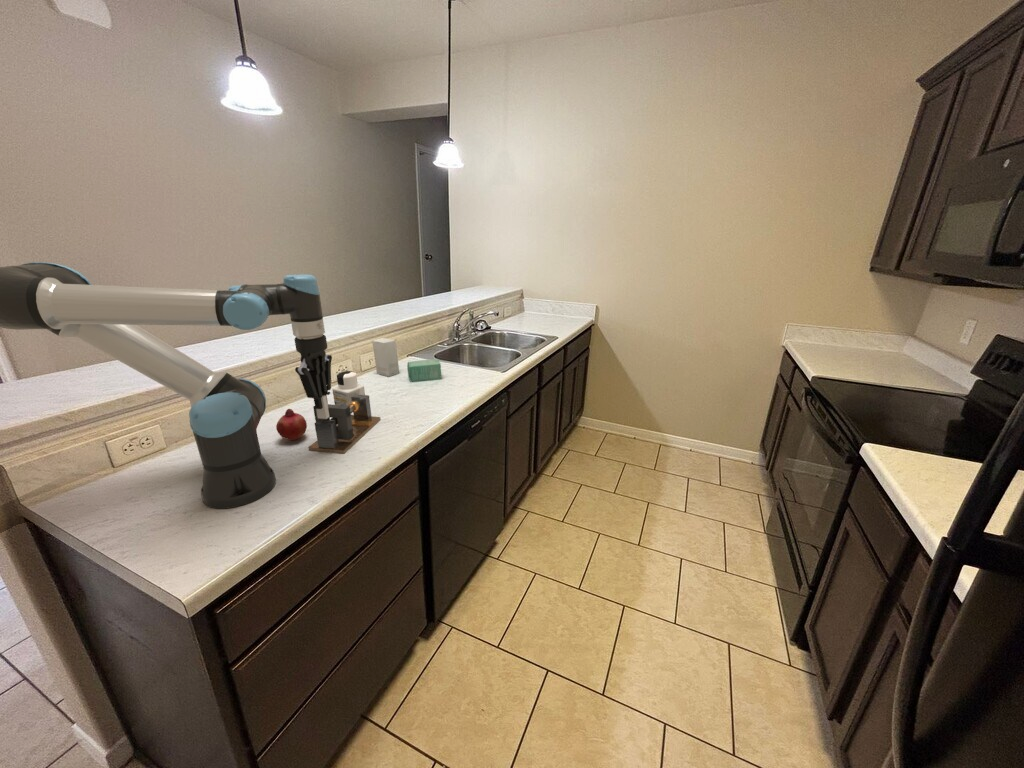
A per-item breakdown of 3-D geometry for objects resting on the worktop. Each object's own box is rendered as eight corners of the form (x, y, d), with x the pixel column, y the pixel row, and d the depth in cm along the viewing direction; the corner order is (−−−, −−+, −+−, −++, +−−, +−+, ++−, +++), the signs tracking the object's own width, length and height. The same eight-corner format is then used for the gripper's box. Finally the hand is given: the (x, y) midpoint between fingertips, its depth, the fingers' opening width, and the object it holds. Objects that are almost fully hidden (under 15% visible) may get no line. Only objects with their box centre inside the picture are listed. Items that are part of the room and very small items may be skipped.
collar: (349, 440, 121) (345, 409, 117) (318, 437, 122) (313, 406, 119) (353, 436, 123) (349, 405, 120) (323, 433, 124) (318, 403, 121)
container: (334, 408, 147) (329, 374, 143) (351, 401, 154) (347, 368, 149) (350, 412, 144) (345, 377, 139) (366, 405, 150) (362, 371, 146)
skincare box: (399, 373, 184) (396, 339, 179) (388, 377, 179) (385, 342, 174) (386, 370, 188) (383, 337, 183) (375, 374, 183) (371, 340, 178)
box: (408, 377, 180) (406, 361, 177) (438, 374, 184) (438, 358, 181) (410, 383, 173) (408, 366, 171) (441, 379, 178) (441, 363, 175)
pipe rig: (344, 453, 117) (340, 425, 114) (309, 450, 119) (304, 422, 116) (380, 419, 139) (377, 395, 136) (350, 417, 140) (347, 393, 137)
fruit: (315, 435, 128) (309, 405, 125) (295, 447, 121) (289, 416, 117) (293, 431, 130) (287, 402, 127) (273, 443, 123) (266, 412, 119)
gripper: (307, 342, 101) (322, 428, 109) (337, 330, 113) (348, 409, 121) (279, 341, 102) (296, 426, 110) (312, 329, 114) (324, 407, 122)
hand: (323, 417), depth 116 cm, fingers closed
